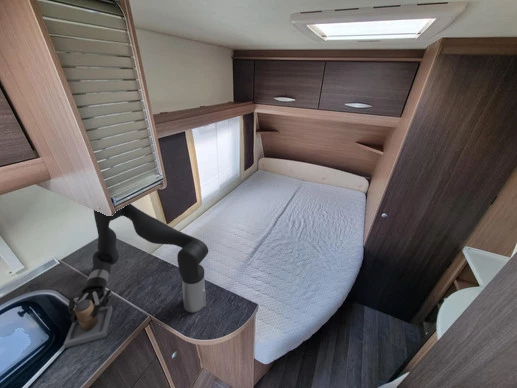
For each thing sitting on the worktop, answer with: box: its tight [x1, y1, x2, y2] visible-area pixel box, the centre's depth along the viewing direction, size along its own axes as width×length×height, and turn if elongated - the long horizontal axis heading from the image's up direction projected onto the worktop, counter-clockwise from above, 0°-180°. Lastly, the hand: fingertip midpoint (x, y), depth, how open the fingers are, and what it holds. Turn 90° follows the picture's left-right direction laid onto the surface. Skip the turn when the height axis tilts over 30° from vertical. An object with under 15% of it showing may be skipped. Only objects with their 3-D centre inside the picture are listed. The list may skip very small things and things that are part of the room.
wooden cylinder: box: [74, 300, 98, 330], centre depth 78 cm, size 5×5×11 cm
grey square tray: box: [63, 305, 113, 349], centre depth 80 cm, size 12×12×2 cm
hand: (83, 318), depth 75 cm, fingers open, 5 cm apart
